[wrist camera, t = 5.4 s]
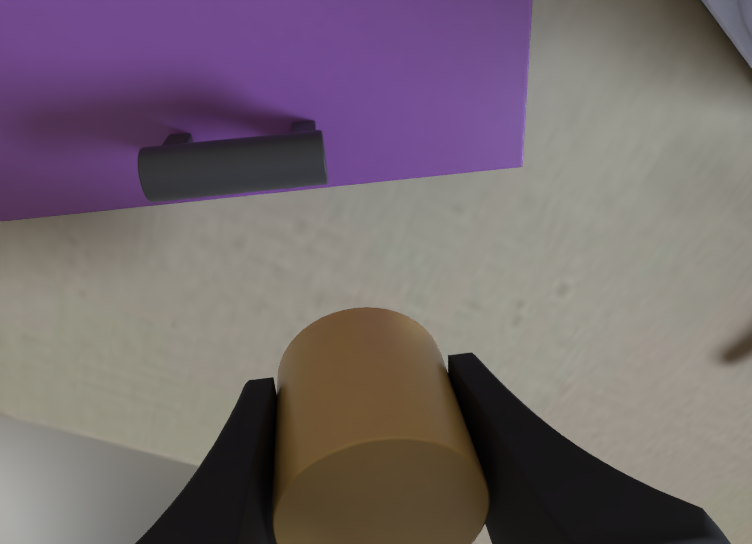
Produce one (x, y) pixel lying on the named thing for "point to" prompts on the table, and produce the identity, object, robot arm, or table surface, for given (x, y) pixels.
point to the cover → (251, 97)
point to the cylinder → (372, 438)
